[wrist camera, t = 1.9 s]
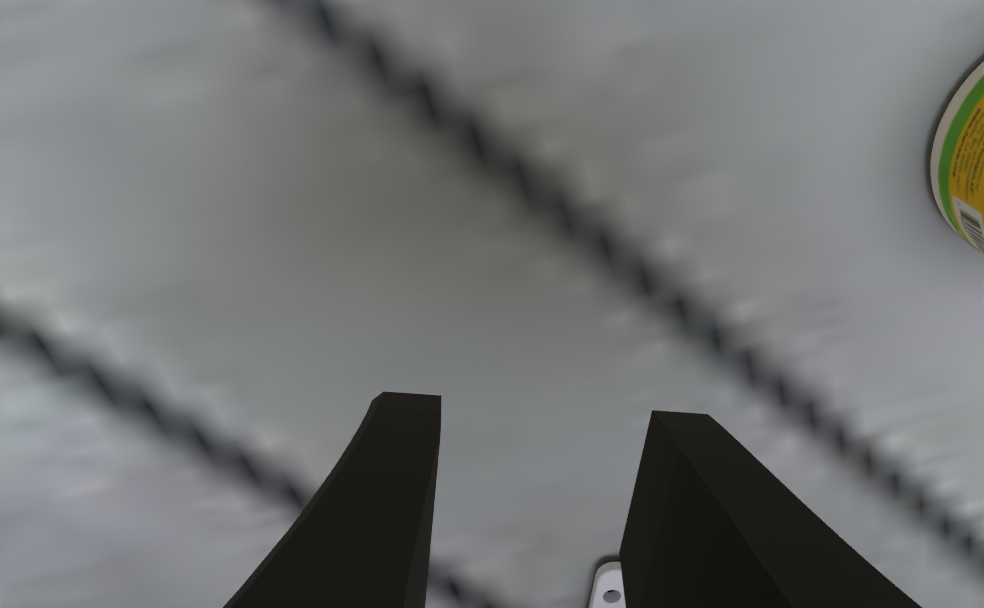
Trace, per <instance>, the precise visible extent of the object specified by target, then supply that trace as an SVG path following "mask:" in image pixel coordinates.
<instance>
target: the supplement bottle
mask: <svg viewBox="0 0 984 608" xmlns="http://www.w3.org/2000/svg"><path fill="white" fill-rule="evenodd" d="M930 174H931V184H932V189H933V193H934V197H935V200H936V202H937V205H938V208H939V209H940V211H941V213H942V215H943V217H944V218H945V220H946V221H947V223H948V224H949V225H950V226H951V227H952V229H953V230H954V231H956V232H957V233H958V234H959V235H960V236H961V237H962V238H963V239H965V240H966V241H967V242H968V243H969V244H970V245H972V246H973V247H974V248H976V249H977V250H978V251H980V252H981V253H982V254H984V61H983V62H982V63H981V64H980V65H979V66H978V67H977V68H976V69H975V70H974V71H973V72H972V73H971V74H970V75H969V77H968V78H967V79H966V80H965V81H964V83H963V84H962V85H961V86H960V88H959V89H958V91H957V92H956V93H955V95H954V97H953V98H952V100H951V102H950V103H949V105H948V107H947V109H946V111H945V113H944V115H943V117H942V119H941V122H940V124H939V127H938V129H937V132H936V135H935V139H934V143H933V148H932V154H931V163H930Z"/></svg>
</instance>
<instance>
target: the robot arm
mask: <svg viewBox="0 0 984 608" xmlns="http://www.w3.org/2000/svg"><path fill="white" fill-rule="evenodd" d="M440 433H441V396H438V395H424V394H409V393H395V392H383V393H381V394H380V395H379V396H377V397H376V398H375V399H373V400H372V402H371V405H370V407H369V409H368V411H367V413H366V415H365V417H364V419H363V421H362V423H361V425H360V427H359V428H358V430H357V432H356V434H355V435H354V437H353V439H352V440H351V442H350V444H349V445H348V447H347V448H346V450H345V451H344V453H343V454H342V456H341V458H340V459H339V461H338V462H337V464H336V465H335V467H334V468H333V470H332V471H331V473H330V474H329V475H328V477H327V478H326V480H325V481H324V482H323V484H322V485H321V487H320V488H319V489H318V491H317V492H316V494H315V495H314V496H313V498H312V499H311V500H310V502H309V503H308V505H307V506H306V507H305V509H304V510H303V512H302V513H301V514H300V516H299V517H298V518H297V520H296V521H295V522H294V524H293V525H292V526H291V527H290V529H289V530H288V531H287V532H286V534H285V535H284V536H283V537H282V538H281V540H280V541H279V542H278V543H277V545H276V546H275V547H274V548H273V549H272V551H271V552H270V553H269V554H268V555H267V557H266V558H265V559H264V560H263V561H262V563H261V564H260V565H259V566H258V567H257V569H256V570H255V571H254V572H253V573H252V575H251V576H250V577H249V578H248V579H247V581H246V582H245V583H244V584H243V585H242V587H241V588H240V589H239V590H238V591H237V592H236V594H235V595H234V596H233V597H232V598H231V599H230V600H229V601H228V602H227V604H226V605H225V606H224V607H223V608H425V600H426V589H427V577H428V566H429V555H430V544H431V533H432V522H433V511H434V500H435V488H436V477H437V466H438V455H439V444H440ZM619 555H620V562H609V563H606V564H604V565H602V566H601V567H600V568H599V569H598V570H597V572H596V575H595V580H594V584H593V589H592V594H591V598H590V603H589V607H588V608H922V607H921V606H919V605H918V604H917V603H916V602H914V601H913V600H912V599H911V598H910V597H908V596H907V595H906V594H905V593H904V592H902V591H901V590H900V589H899V588H898V587H896V586H895V585H894V584H893V583H892V582H890V581H889V580H888V579H887V578H886V577H885V576H884V575H882V574H881V573H880V572H879V571H878V570H877V569H876V568H874V567H873V566H872V565H871V564H870V563H869V562H868V561H866V560H865V559H864V558H863V557H862V556H861V555H860V554H858V553H857V552H856V551H855V550H854V549H853V548H852V547H851V546H849V545H848V544H847V543H846V542H845V541H844V540H843V539H842V538H841V537H839V536H838V535H837V534H836V533H835V532H834V531H833V530H832V529H831V528H830V527H829V526H827V525H826V524H825V523H824V522H823V521H822V520H821V519H820V518H819V517H818V516H817V515H815V514H814V513H813V512H812V511H811V510H810V509H809V508H808V507H807V506H806V505H805V504H804V503H803V502H802V501H801V500H799V499H798V498H797V497H796V496H795V495H794V494H793V493H792V492H791V491H790V490H789V489H788V488H787V487H786V486H785V485H784V484H783V483H781V482H780V481H779V480H778V479H777V478H776V477H775V476H774V475H773V474H772V473H771V472H770V471H769V470H768V469H767V468H766V467H765V466H764V465H763V464H762V463H760V462H759V461H758V460H757V459H756V458H755V457H754V456H753V455H752V454H751V453H750V452H749V451H748V450H747V449H746V448H745V447H744V446H743V445H742V444H740V443H739V442H738V441H737V440H736V439H735V438H734V437H733V436H732V435H731V434H730V433H729V432H728V431H726V430H725V429H724V428H723V427H722V426H721V425H720V424H719V423H717V422H716V421H715V420H714V419H713V418H712V417H710V416H709V415H708V414H697V413H682V412H668V411H654V410H652V414H651V418H650V422H649V427H648V431H647V435H646V440H645V444H644V448H643V453H642V457H641V461H640V466H639V470H638V474H637V479H636V483H635V487H634V492H633V496H632V500H631V505H630V509H629V513H628V518H627V522H626V526H625V531H624V535H623V539H622V543H621V548H620V552H619ZM609 590H615V591H614V592H609V593H608V592H607V591H609Z"/></svg>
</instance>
